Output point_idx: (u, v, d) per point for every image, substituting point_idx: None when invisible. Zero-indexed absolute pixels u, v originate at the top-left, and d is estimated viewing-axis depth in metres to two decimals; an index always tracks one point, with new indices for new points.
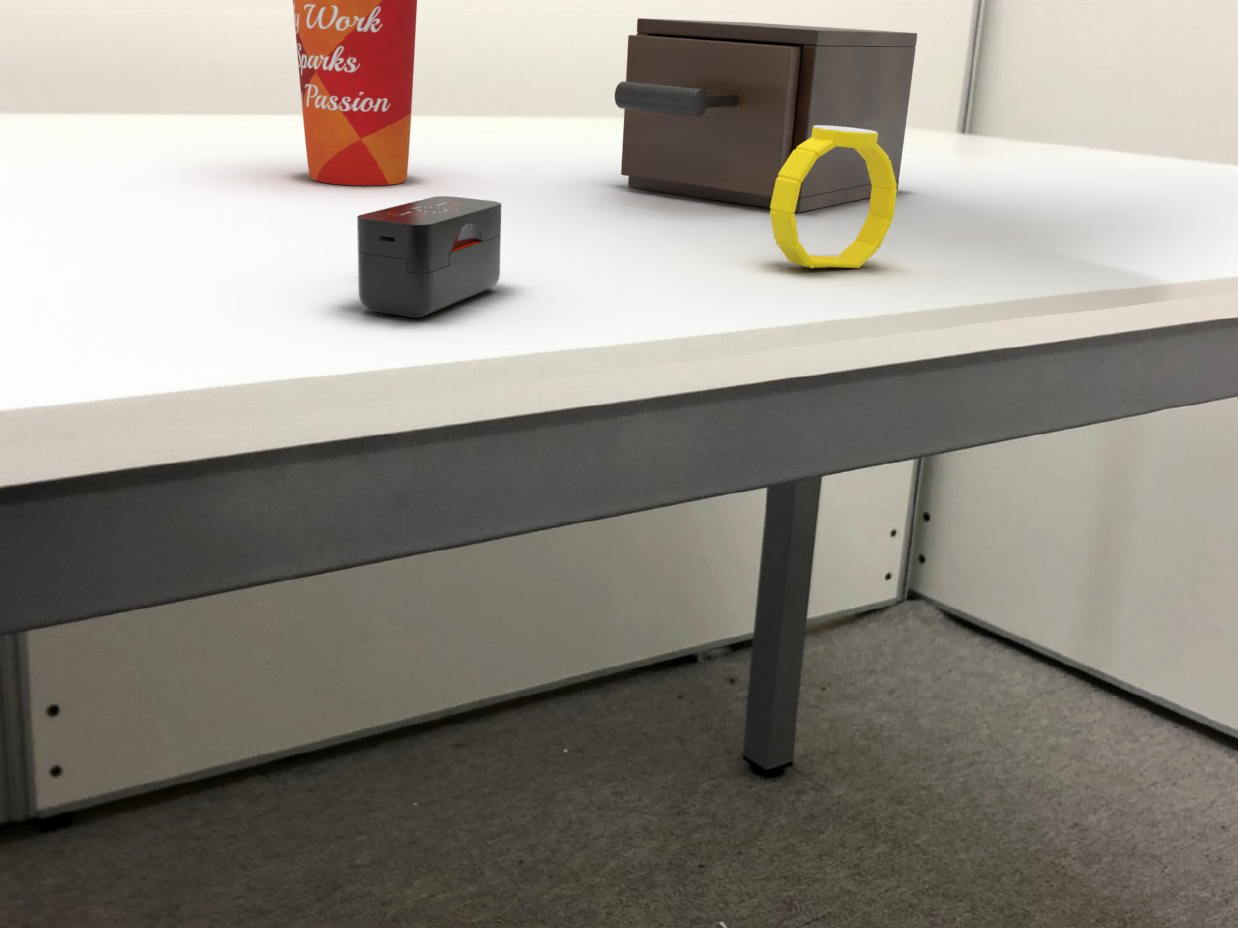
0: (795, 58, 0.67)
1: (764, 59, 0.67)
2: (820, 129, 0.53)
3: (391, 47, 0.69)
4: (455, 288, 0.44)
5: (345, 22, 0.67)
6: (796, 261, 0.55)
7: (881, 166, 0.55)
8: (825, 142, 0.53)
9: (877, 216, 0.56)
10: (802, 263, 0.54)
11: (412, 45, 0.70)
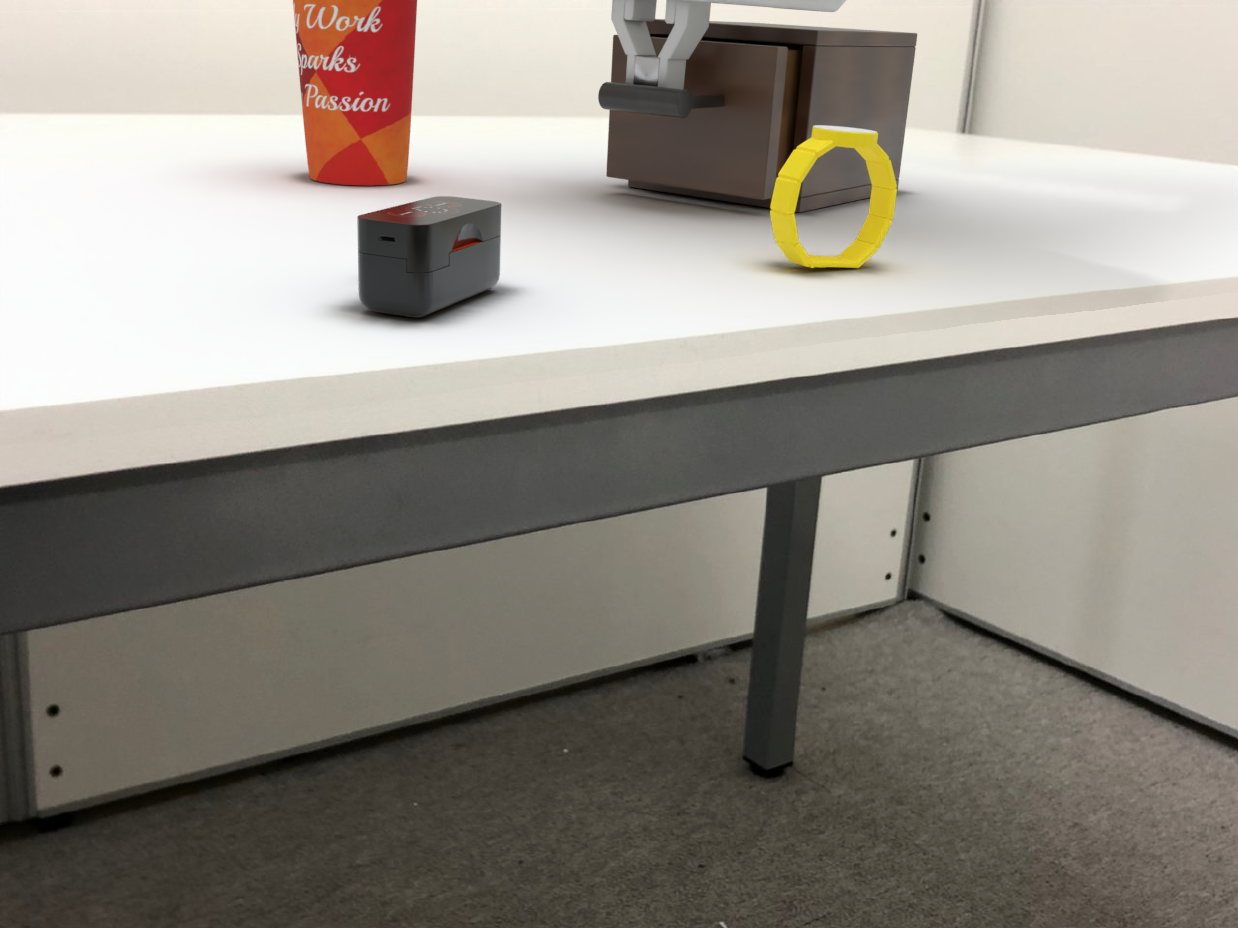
0: (782, 58, 0.66)
1: (751, 59, 0.66)
2: (820, 129, 0.53)
3: (391, 47, 0.69)
4: (455, 288, 0.44)
5: (345, 22, 0.67)
6: (796, 261, 0.55)
7: (881, 166, 0.55)
8: (825, 142, 0.53)
9: (877, 216, 0.56)
10: (802, 263, 0.54)
11: (412, 45, 0.70)
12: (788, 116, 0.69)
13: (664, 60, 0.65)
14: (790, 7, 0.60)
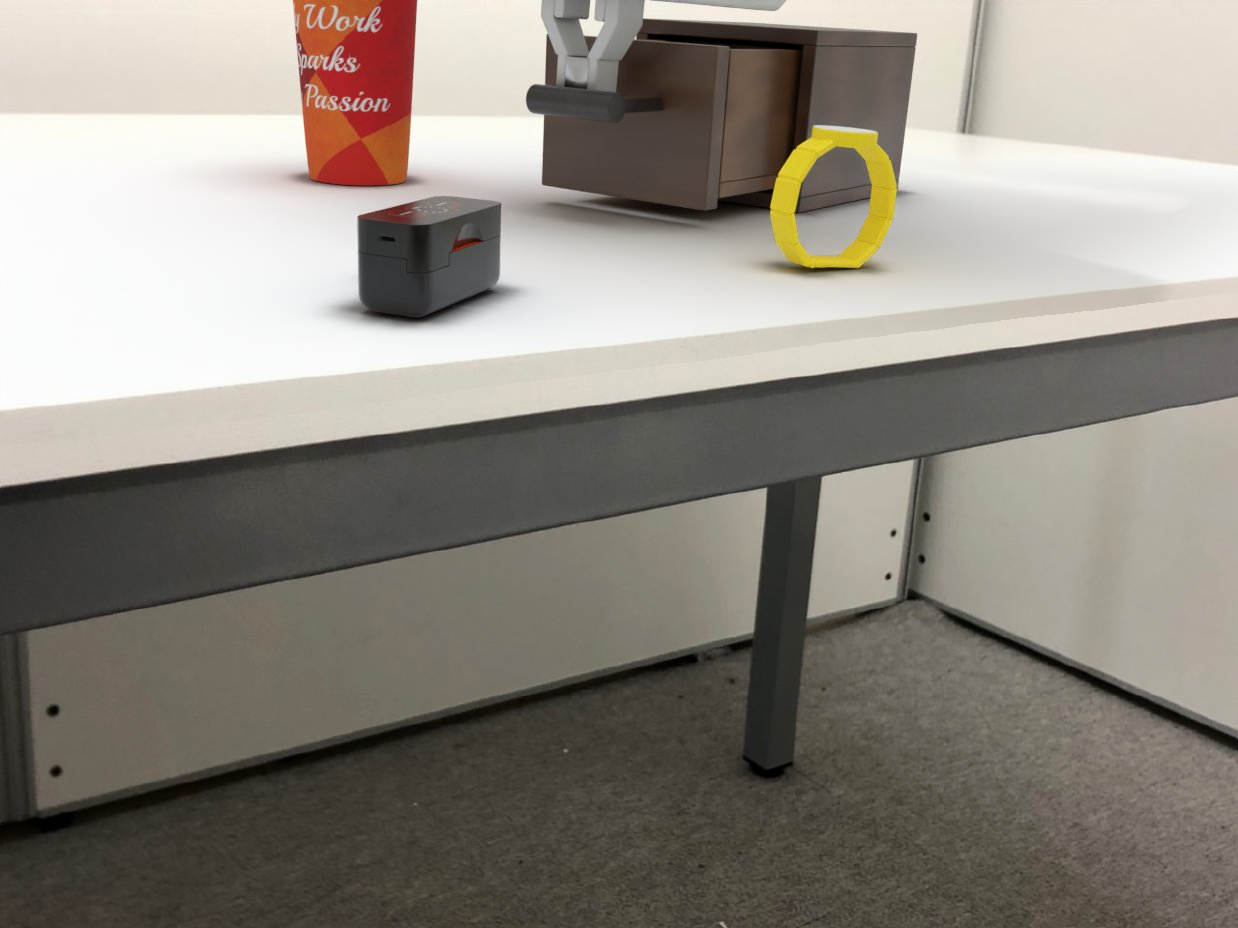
0: (723, 58, 0.61)
1: (690, 59, 0.61)
2: (820, 129, 0.53)
3: (391, 47, 0.69)
4: (455, 288, 0.44)
5: (345, 22, 0.67)
6: (796, 261, 0.55)
7: (881, 166, 0.55)
8: (825, 142, 0.53)
9: (877, 216, 0.56)
10: (802, 263, 0.54)
11: (412, 45, 0.70)
12: (733, 120, 0.64)
13: (594, 61, 0.60)
14: (726, 5, 0.55)
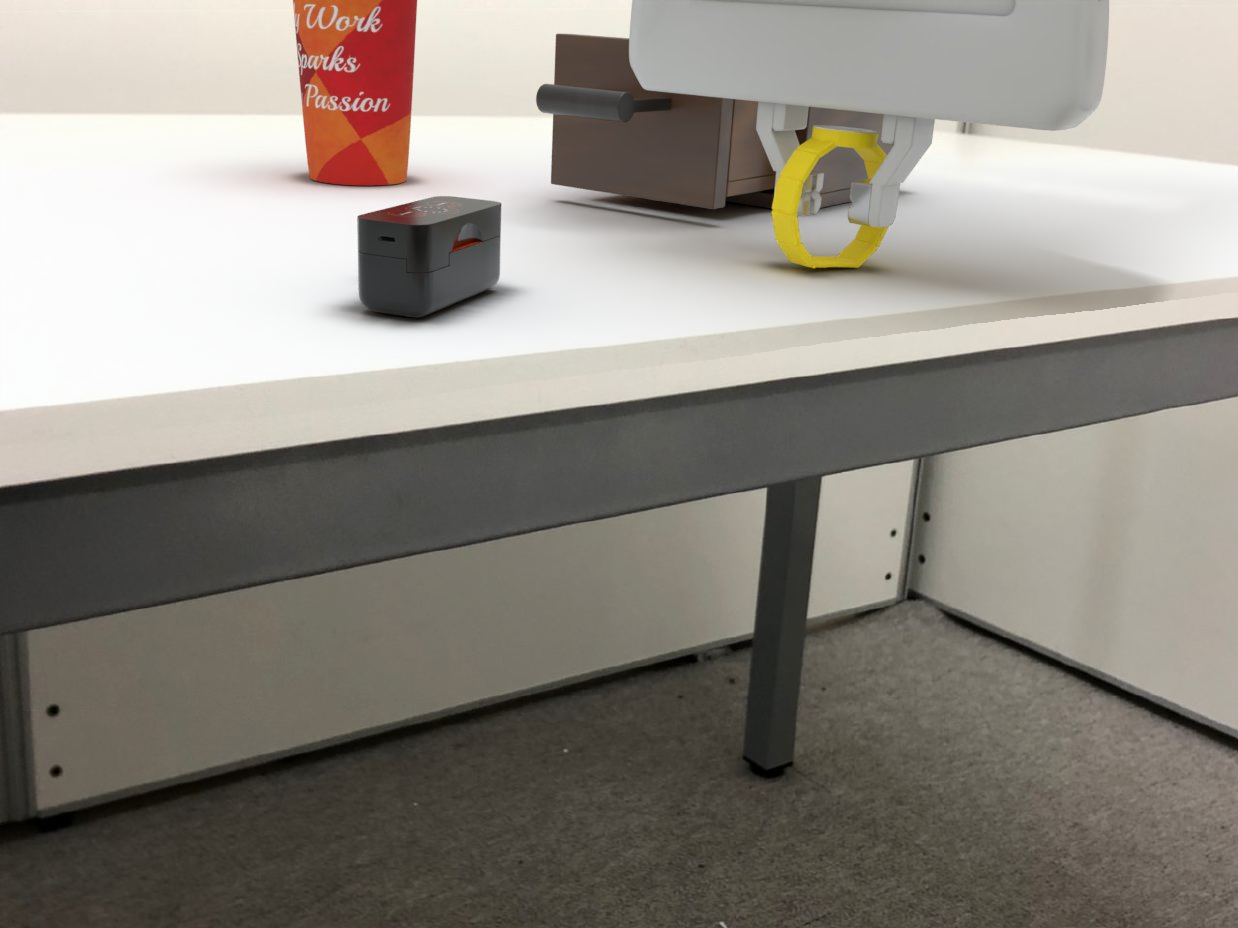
0: None
1: None
2: (821, 129, 0.53)
3: (391, 47, 0.69)
4: (455, 288, 0.44)
5: (345, 22, 0.67)
6: (797, 261, 0.54)
7: None
8: (827, 142, 0.53)
9: None
10: (804, 263, 0.54)
11: (412, 45, 0.70)
12: (740, 119, 0.65)
13: (878, 187, 0.52)
14: (1027, 127, 0.48)
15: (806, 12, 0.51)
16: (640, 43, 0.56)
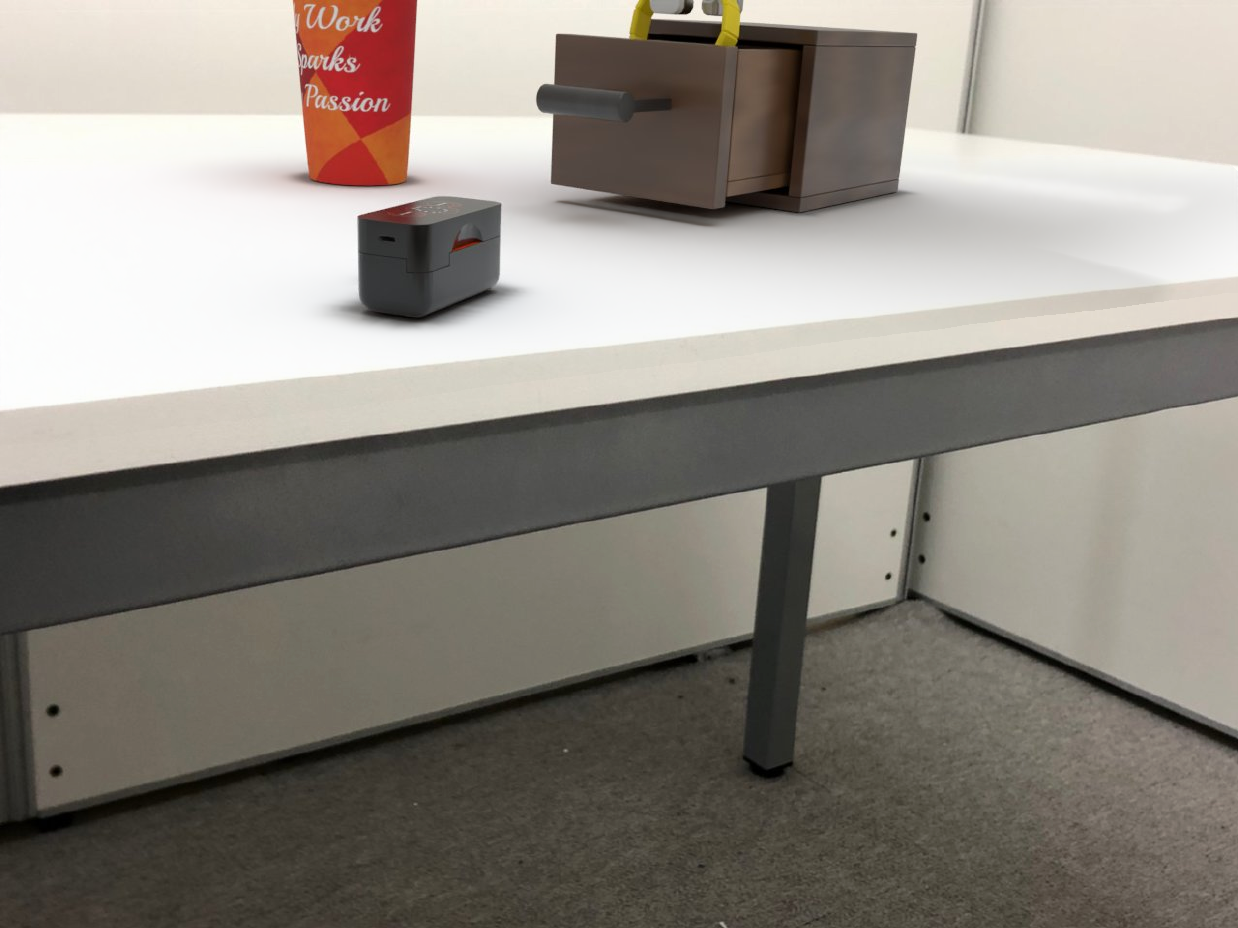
0: (731, 58, 0.62)
1: (698, 59, 0.62)
2: None
3: (391, 47, 0.69)
4: (455, 288, 0.44)
5: (345, 22, 0.67)
6: None
7: None
8: None
9: (642, 37, 0.68)
10: None
11: (412, 45, 0.70)
12: (740, 119, 0.65)
13: None
14: None
15: None
16: None
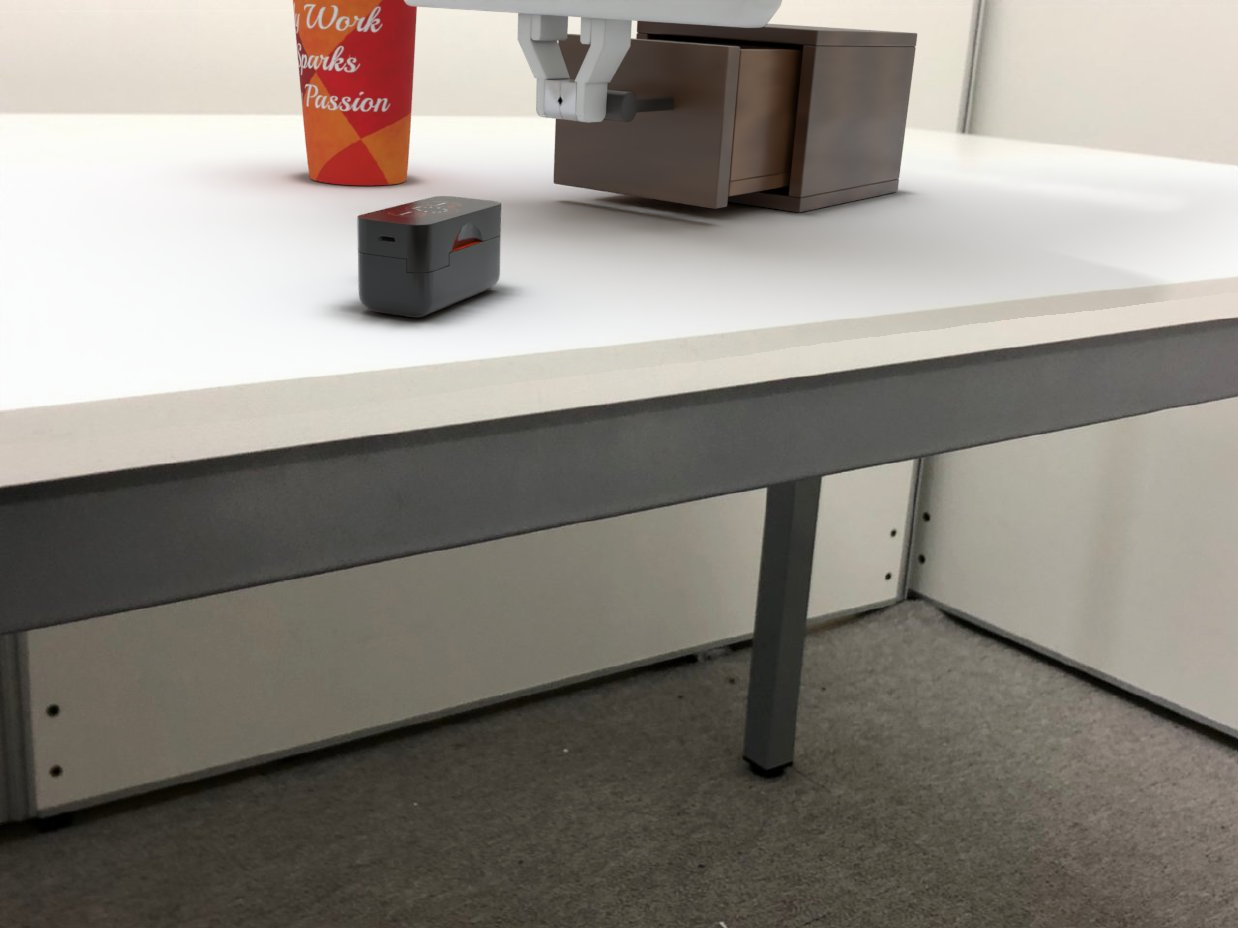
0: (733, 58, 0.62)
1: (701, 59, 0.62)
2: None
3: (391, 47, 0.69)
4: (455, 288, 0.44)
5: (345, 22, 0.67)
6: None
7: None
8: None
9: None
10: None
11: (412, 45, 0.70)
12: (743, 119, 0.65)
13: (581, 84, 0.59)
14: (710, 24, 0.53)
15: None
16: None
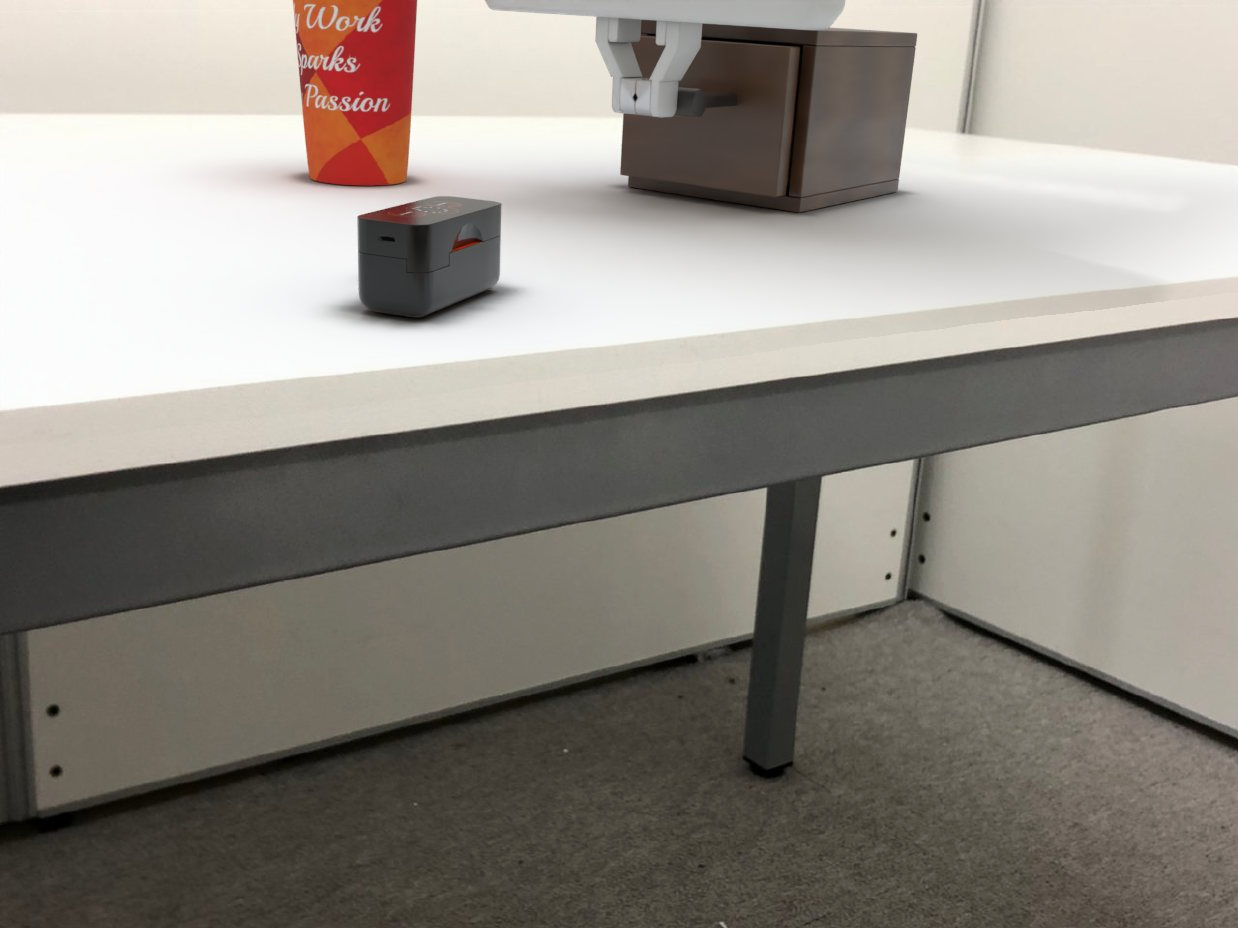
0: (794, 58, 0.67)
1: (764, 59, 0.67)
2: None
3: (391, 47, 0.69)
4: (455, 288, 0.44)
5: (345, 22, 0.67)
6: None
7: None
8: None
9: None
10: None
11: (412, 45, 0.70)
12: None
13: (656, 82, 0.64)
14: (780, 27, 0.58)
15: None
16: None
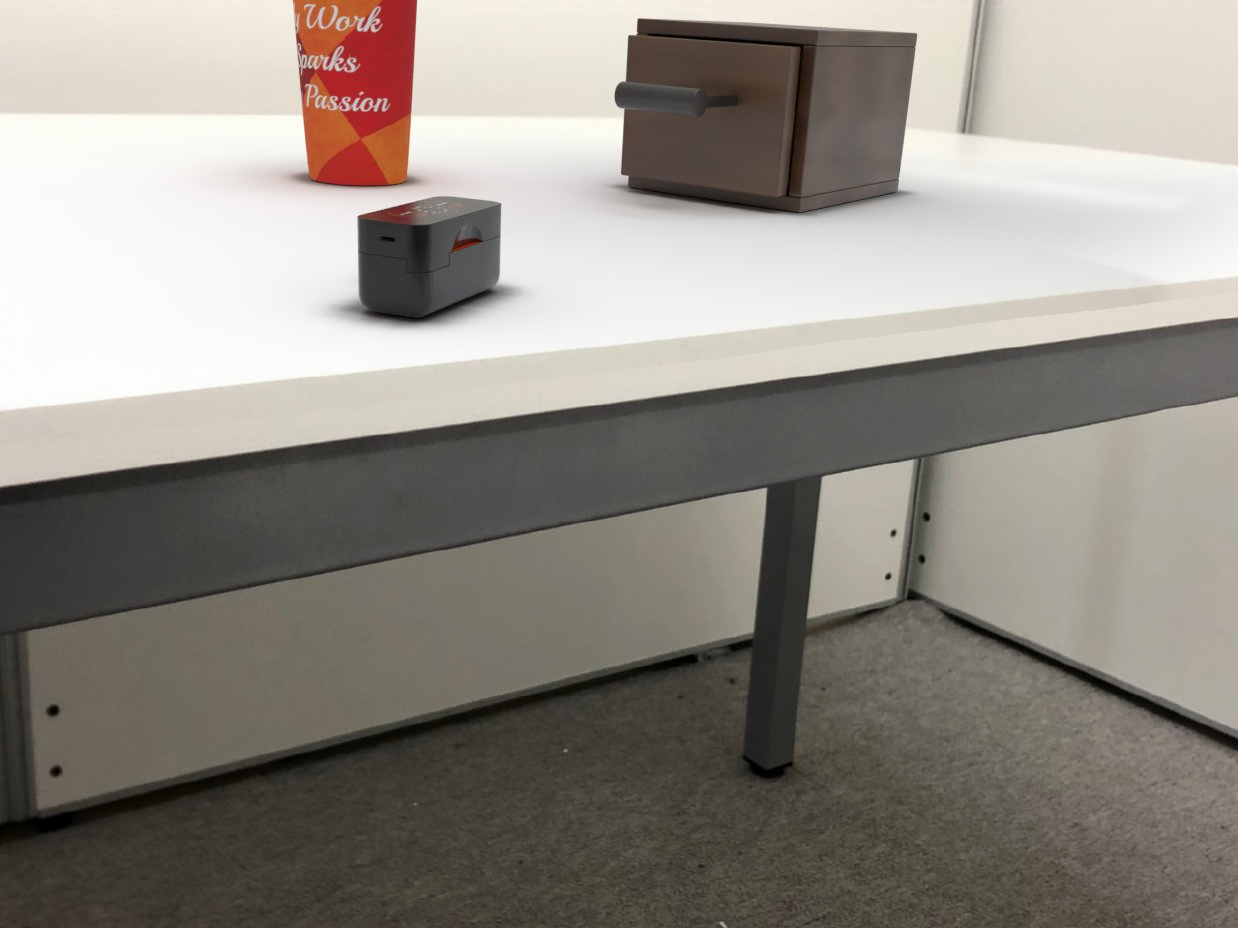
0: (795, 58, 0.67)
1: (764, 59, 0.67)
2: None
3: (391, 47, 0.69)
4: (455, 288, 0.44)
5: (345, 22, 0.67)
6: None
7: None
8: None
9: None
10: None
11: (412, 45, 0.70)
12: None
13: None
14: None
15: None
16: None
